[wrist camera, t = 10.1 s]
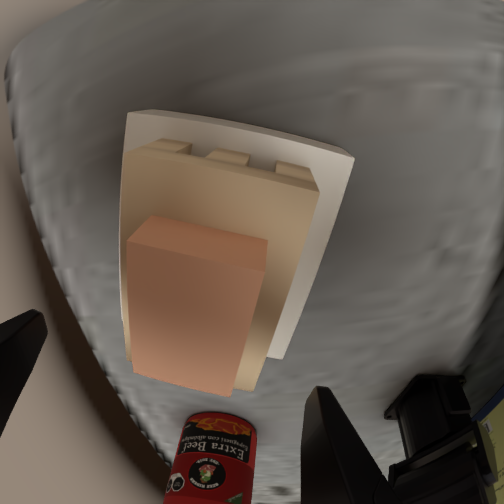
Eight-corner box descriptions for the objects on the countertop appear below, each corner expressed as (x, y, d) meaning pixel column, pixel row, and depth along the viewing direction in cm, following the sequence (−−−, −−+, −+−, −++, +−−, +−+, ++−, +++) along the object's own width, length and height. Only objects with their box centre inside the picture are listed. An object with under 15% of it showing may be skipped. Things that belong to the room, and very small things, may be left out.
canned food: (260, 414, 26) (249, 522, 16) (256, 449, 29) (247, 534, 20) (179, 404, 26) (150, 505, 16) (189, 440, 30) (169, 523, 20)
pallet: (258, 342, 17) (253, 391, 14) (149, 316, 17) (127, 360, 14) (309, 168, 12) (320, 192, 9) (162, 138, 12) (124, 153, 9)
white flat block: (282, 326, 20) (282, 359, 18) (139, 292, 20) (121, 320, 17) (341, 147, 15) (354, 158, 12) (152, 109, 14) (127, 112, 12)
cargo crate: (236, 361, 13) (230, 397, 11) (148, 339, 13) (133, 372, 11) (267, 240, 10) (265, 272, 8) (151, 214, 10) (126, 240, 8)
